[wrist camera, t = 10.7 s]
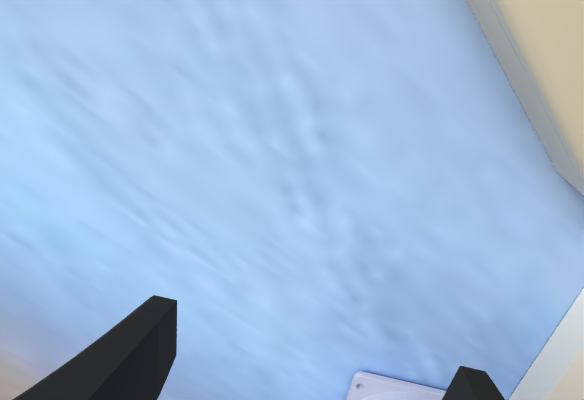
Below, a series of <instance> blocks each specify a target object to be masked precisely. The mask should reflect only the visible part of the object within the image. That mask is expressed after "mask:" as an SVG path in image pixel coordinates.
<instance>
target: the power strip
mask: <svg viewBox="0 0 584 400" xmlns="http://www.w3.org/2000/svg"><path fill="white" fill-rule="evenodd" d="M508 400H584V288H583V290H582V291H581V293H580V294H579V296H578V297H577V299H576V300H575V302H574V303H573V305H572V306H571V308H570V309H569V310H568V312H567V313H566V315H565V316H564V318H563V319H562V321H561V322H560V324H559V325H558V327H557V328H556V330H555V331H554V333H553V334H552V336H551V337H550V339H549V340H548V342H547V343H546V345H545V346H544V348H543V349H542V351H541V352H540V354H539V355H538V356H537V358H536V359H535V361H534V362H533V364H532V365H531V367H530V368H529V370H528V371H527V373H526V374H525V376H524V377H523V379H522V380H521V382H520V383H519V385H518V386H517V388H516V389H515V391H514V392H513V394H512V395H511V397H510V398H509V399H508Z"/></svg>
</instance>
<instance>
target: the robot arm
mask: <svg viewBox="0 0 584 400" xmlns="http://www.w3.org/2000/svg"><path fill="white" fill-rule="evenodd" d="M176 338H177V300H173V299H168V298H164V297H160V296H155V295H154V296H152V297H150V298H149V299H148V300H147V301H145V302H144V303H143V304H142V305H141V306H139V307H138V308H137V309H136V310H134V311H133V312H132V313H131V314H130V315H128V316H127V317H126V318H125V319H123V320H122V321H121V322H120V323H118V324H117V325H116V326H115V327H113V328H112V329H111V330H109V331H108V332H107V333H106V334H104V335H103V336H102V337H100V338H99V339H98V340H96V341H95V342H94V343H92V344H91V345H90V346H89V347H87V348H86V349H85V350H83V351H82V352H81V353H79V354H78V355H77V356H75V357H74V358H73V359H71V360H70V361H68V362H67V363H66V364H64V365H63V366H61V367H60V368H58V369H57V370H56V371H54V372H53V373H51V374H50V375H48V376H47V377H46V378H44V379H43V380H41V381H40V382H38V383H37V384H35V385H34V386H33V387H31V388H30V389H28V390H27V391H25V392H24V393H22V394H21V395H19V396H17V397H16V398H14V399H13V400H157V398H158V396H159V395H160V392H161V390H162V388H163V385H164V383H165V381H166V379H167V376H168V374H169V371H170V369H171V367H172V364H173V362H174V359H175V357H176ZM346 400H505V399H504V397H503V396H502V395H501V393H500V392H499V390H498V389H497V387H496V386H495V384H494V383H493V381H492V380H491V379H490V377H489V376H488V374H487V373H486V372H485V371H481V370H476V369H472V368H468V367H463V366H460V367H459V369H458V371H457V373H456V374H455V376H454V378H453V380H452V382H451V384H450V385H449V387H448V389H447V391H444V390H440V389H436V388H431V387H427V386H423V385H419V384H414V383H410V382H406V381H402V380H397V379H393V378H389V377H385V376H380V375H376V374H372V373H368V372H363V371H359V372H357V373H355V375H354V377H353V380H352V383H351V385H350V388H349V391H348V394H347V397H346Z"/></svg>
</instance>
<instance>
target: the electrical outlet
mask: <svg viewBox="0 0 584 400" xmlns="http://www.w3.org/2000/svg"><path fill="white" fill-rule="evenodd" d="M466 1H467V3H468V5H469V7H470V9H471V11H472V13H473V15H474V17H475V19H476V20H477V22H478V24H479V26H480V28H481V30H482V32H483V34H484V36H485V38H486V39H487V41H488V43H489V45H490V47H491V49H492V51H493V53H494V55H495V57H496V58H497V60H498V62H499V64H500V66H501V68H502V70H503V72H504V74H505V75H506V77H507V79H508V81H509V83H510V85H511V87H512V89H513V91H514V93H515V94H516V96H517V98H518V100H519V102H520V104H521V106H522V108H523V110H524V112H525V113H526V115H527V117H528V119H529V121H530V123H531V125H532V127H533V129H534V131H535V132H536V134H537V136H538V138H539V140H540V142H541V144H542V146H543V148H544V149H545V151H546V153H547V155H548V157H549V159H550V161H551V163H552V165H553V167H554V168H555V170H556V172H557V173H558V174H559V175H560V176H561V177H562V178H564V179H565V180H566V181H567V182H568V183H569V184H571V185H572V186H573V187H574V188H575V189H577V190H578V191H579V192H580V193H581V194H583V195H584V0H466Z"/></svg>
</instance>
